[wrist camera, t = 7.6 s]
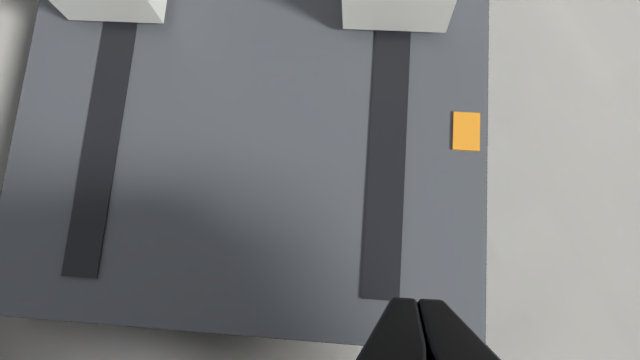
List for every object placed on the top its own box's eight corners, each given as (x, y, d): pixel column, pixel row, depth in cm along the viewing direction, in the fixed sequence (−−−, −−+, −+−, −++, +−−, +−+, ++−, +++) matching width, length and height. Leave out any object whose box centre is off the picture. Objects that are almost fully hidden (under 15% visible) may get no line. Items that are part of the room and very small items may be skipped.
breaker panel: (467, 347, 18) (486, 356, 15) (26, 311, 19) (-26, 314, 16) (473, -14, 20) (490, -58, 18) (87, -26, 21) (51, -69, 19)
